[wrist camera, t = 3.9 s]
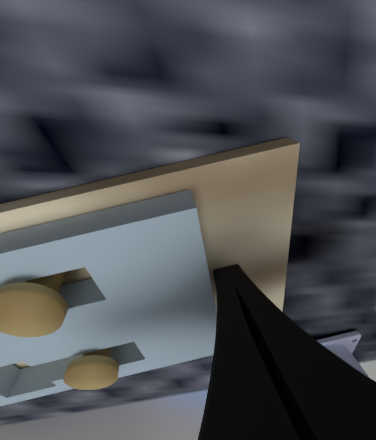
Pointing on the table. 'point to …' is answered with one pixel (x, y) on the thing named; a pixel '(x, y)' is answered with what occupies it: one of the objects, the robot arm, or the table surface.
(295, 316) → the table surface
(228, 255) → the board
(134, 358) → the panel
